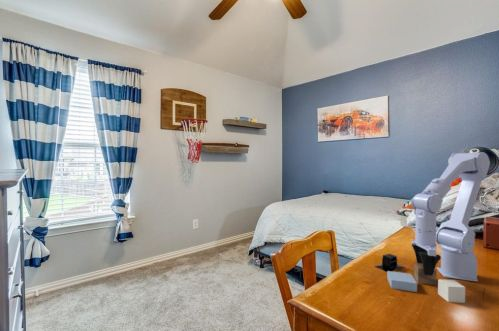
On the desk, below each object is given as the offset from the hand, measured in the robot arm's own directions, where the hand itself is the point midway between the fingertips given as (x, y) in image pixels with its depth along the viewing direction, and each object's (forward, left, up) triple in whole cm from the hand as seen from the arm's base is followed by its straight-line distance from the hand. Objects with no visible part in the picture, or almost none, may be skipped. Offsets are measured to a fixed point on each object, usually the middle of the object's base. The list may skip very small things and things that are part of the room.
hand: (424, 270), depth 86 cm
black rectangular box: (+9, -9, -4) cm, 13 cm away
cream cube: (-4, +10, -4) cm, 11 cm away
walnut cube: (0, 0, -4) cm, 4 cm away
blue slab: (+8, +6, -4) cm, 11 cm away
